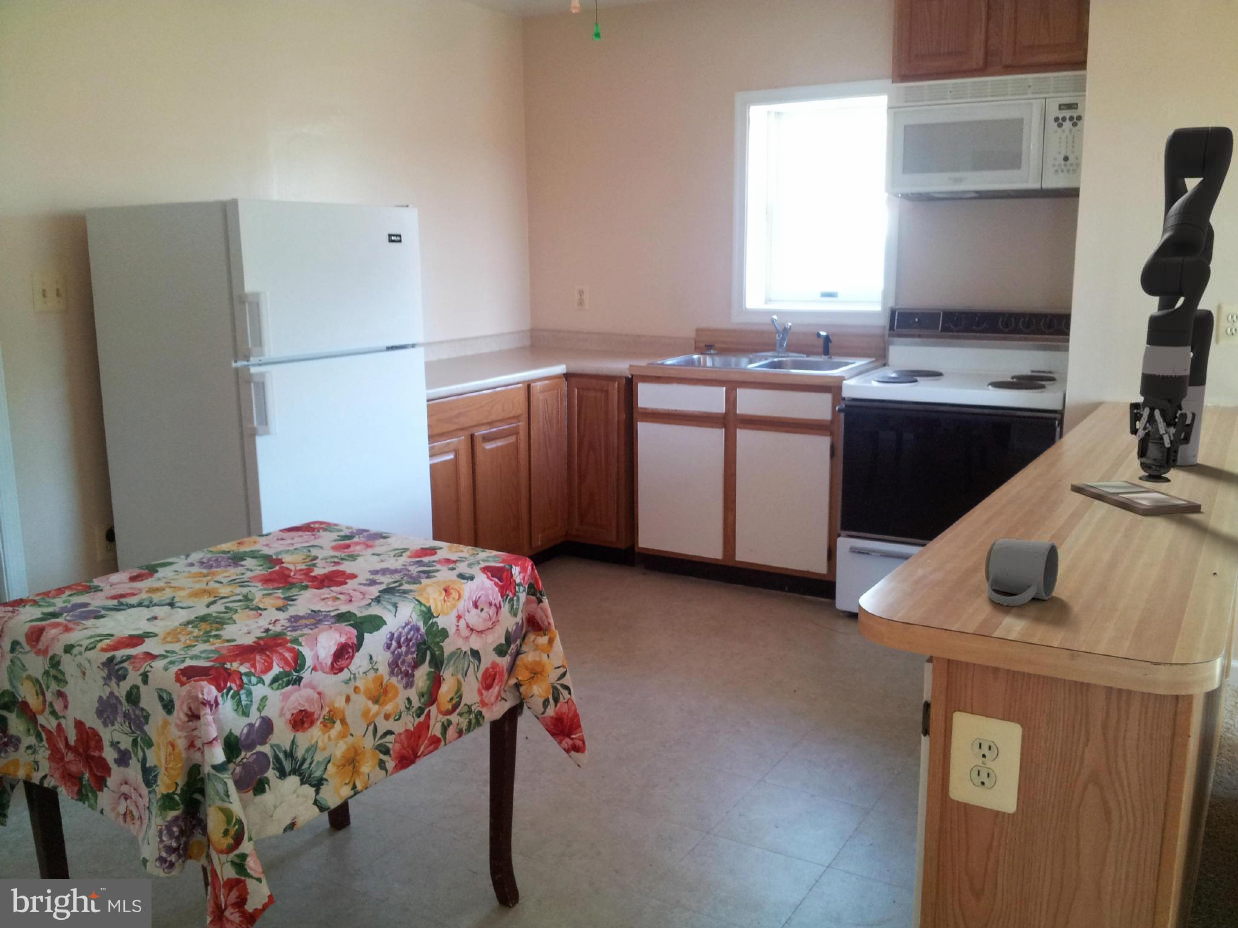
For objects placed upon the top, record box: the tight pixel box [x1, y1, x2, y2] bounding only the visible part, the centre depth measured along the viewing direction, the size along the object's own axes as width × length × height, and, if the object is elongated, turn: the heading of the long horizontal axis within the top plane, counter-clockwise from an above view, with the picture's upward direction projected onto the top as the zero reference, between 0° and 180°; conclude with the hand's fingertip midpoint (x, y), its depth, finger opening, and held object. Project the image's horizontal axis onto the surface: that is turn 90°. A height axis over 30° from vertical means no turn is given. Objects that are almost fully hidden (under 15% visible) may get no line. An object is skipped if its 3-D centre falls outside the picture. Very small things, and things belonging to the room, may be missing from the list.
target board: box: [1070, 480, 1202, 516], centre depth 191 cm, size 20×12×1 cm, turn 12°
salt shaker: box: [1137, 421, 1173, 484], centre depth 184 cm, size 6×6×12 cm
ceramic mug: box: [984, 538, 1059, 607], centre depth 139 cm, size 11×8×8 cm
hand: (1156, 463), depth 185 cm, fingers closed on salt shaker, 6 cm apart
